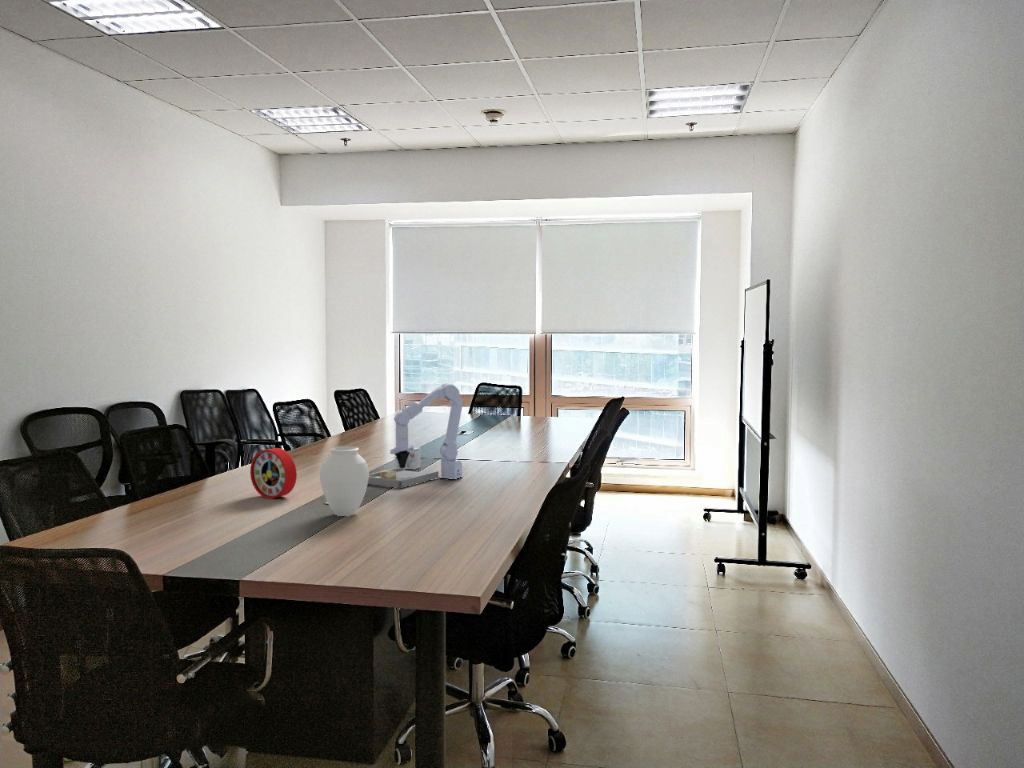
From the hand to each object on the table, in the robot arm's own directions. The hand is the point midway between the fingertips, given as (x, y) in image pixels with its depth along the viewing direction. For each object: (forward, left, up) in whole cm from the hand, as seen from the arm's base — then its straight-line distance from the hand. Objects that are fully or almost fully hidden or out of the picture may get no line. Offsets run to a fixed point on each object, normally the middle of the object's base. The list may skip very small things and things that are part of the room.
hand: (402, 467), depth 353 cm
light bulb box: (+18, -27, -6) cm, 33 cm away
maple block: (0, +10, -4) cm, 11 cm away
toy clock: (+22, +56, -6) cm, 61 cm away
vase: (-24, +63, -6) cm, 68 cm away
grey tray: (0, +1, -6) cm, 6 cm away
